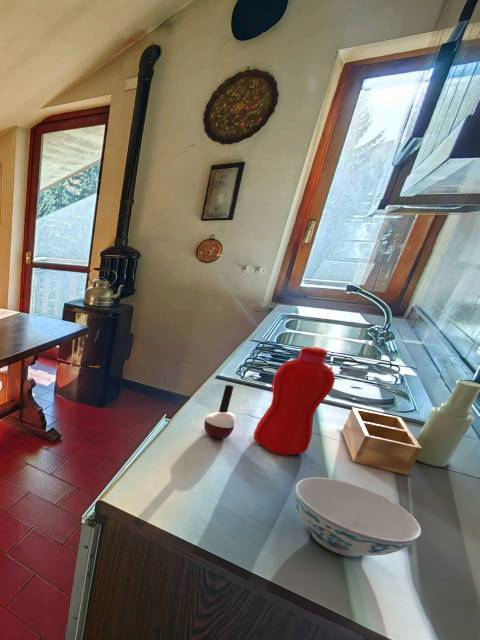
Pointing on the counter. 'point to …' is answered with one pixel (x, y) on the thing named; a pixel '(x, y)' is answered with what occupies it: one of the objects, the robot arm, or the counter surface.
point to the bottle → (447, 425)
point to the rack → (380, 441)
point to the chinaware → (353, 518)
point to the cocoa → (221, 418)
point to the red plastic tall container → (295, 402)
